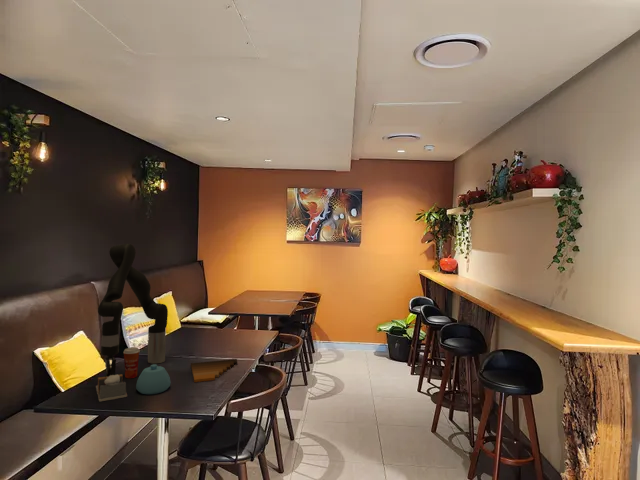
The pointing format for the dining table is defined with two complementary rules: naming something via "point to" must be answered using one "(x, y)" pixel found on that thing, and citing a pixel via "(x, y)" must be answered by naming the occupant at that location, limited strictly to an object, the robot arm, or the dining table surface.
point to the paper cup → (131, 362)
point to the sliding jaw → (102, 379)
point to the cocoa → (112, 375)
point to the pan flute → (210, 369)
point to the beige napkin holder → (111, 391)
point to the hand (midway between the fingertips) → (109, 380)
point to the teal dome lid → (153, 380)
